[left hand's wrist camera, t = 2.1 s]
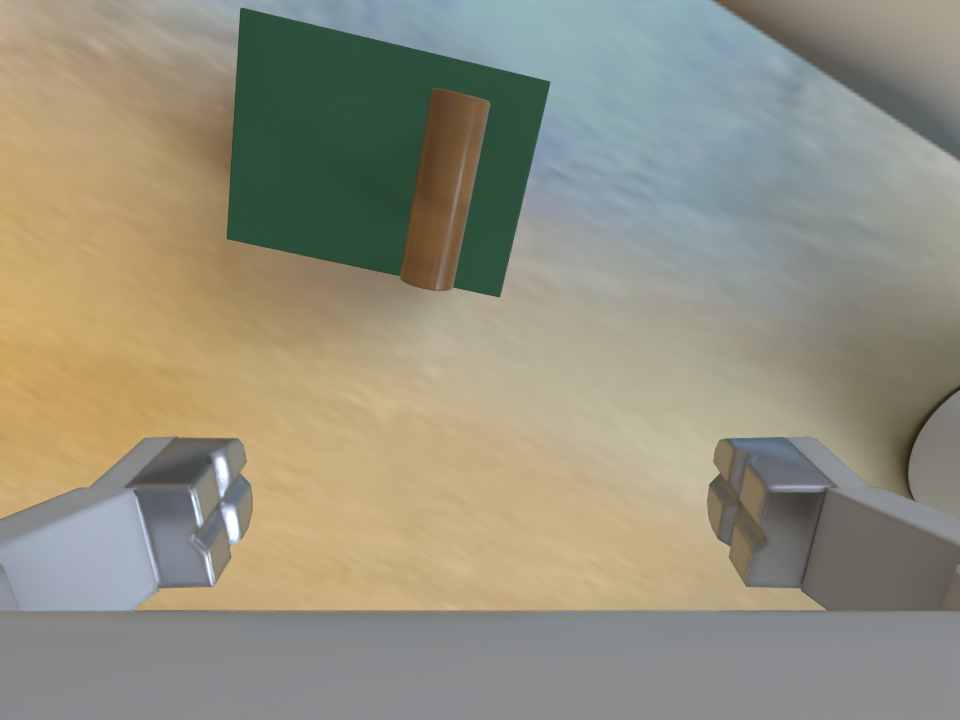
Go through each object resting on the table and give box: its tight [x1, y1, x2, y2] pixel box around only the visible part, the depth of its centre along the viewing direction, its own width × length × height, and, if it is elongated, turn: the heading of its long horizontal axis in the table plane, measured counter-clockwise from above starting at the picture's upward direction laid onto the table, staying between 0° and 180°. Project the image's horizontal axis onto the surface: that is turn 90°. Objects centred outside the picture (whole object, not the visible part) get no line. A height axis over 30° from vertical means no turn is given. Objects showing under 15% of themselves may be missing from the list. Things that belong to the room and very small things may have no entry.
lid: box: [227, 8, 550, 297], centre depth 24 cm, size 14×10×9 cm
